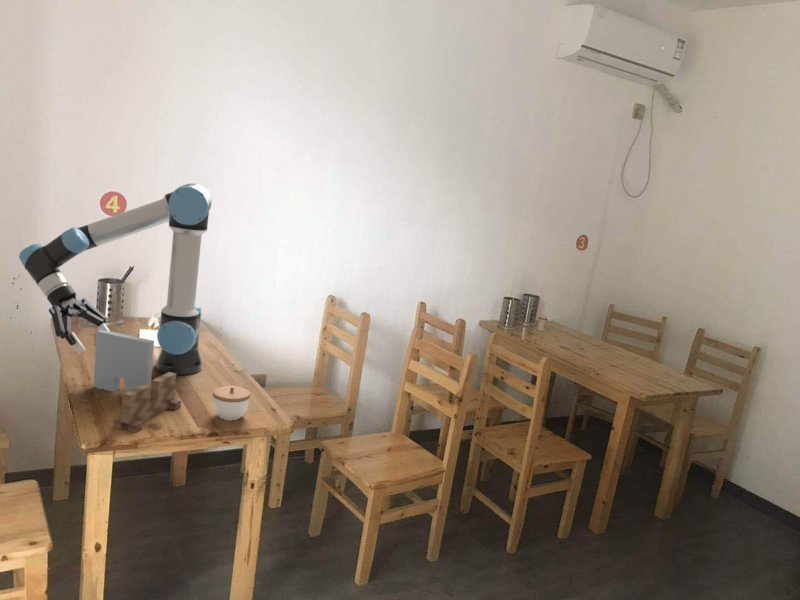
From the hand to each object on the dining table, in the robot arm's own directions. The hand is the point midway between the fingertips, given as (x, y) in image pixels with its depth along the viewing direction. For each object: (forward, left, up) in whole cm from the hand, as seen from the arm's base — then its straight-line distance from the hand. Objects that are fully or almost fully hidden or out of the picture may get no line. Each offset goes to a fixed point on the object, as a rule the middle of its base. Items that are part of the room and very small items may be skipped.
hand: (98, 347), depth 199 cm
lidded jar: (-33, +31, -13) cm, 47 cm away
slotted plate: (-7, +6, -13) cm, 15 cm away
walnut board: (-11, +26, -13) cm, 31 cm away
